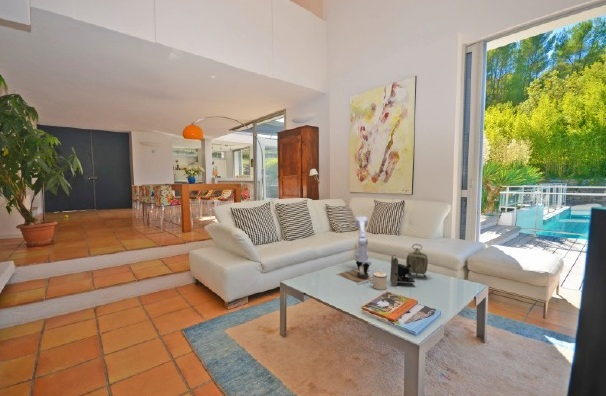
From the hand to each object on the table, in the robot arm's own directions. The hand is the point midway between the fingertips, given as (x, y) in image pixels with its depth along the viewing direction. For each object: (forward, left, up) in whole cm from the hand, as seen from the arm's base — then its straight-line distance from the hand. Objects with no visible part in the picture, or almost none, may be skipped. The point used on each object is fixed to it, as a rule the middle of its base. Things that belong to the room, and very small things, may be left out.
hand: (362, 272), depth 205 cm
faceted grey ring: (0, 0, -4) cm, 4 cm away
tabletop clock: (-35, +22, -5) cm, 42 cm away
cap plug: (0, 0, -3) cm, 3 cm away
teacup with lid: (+4, +17, -5) cm, 18 cm away
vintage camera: (-14, +24, -5) cm, 28 cm away
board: (+3, -5, -5) cm, 8 cm away
